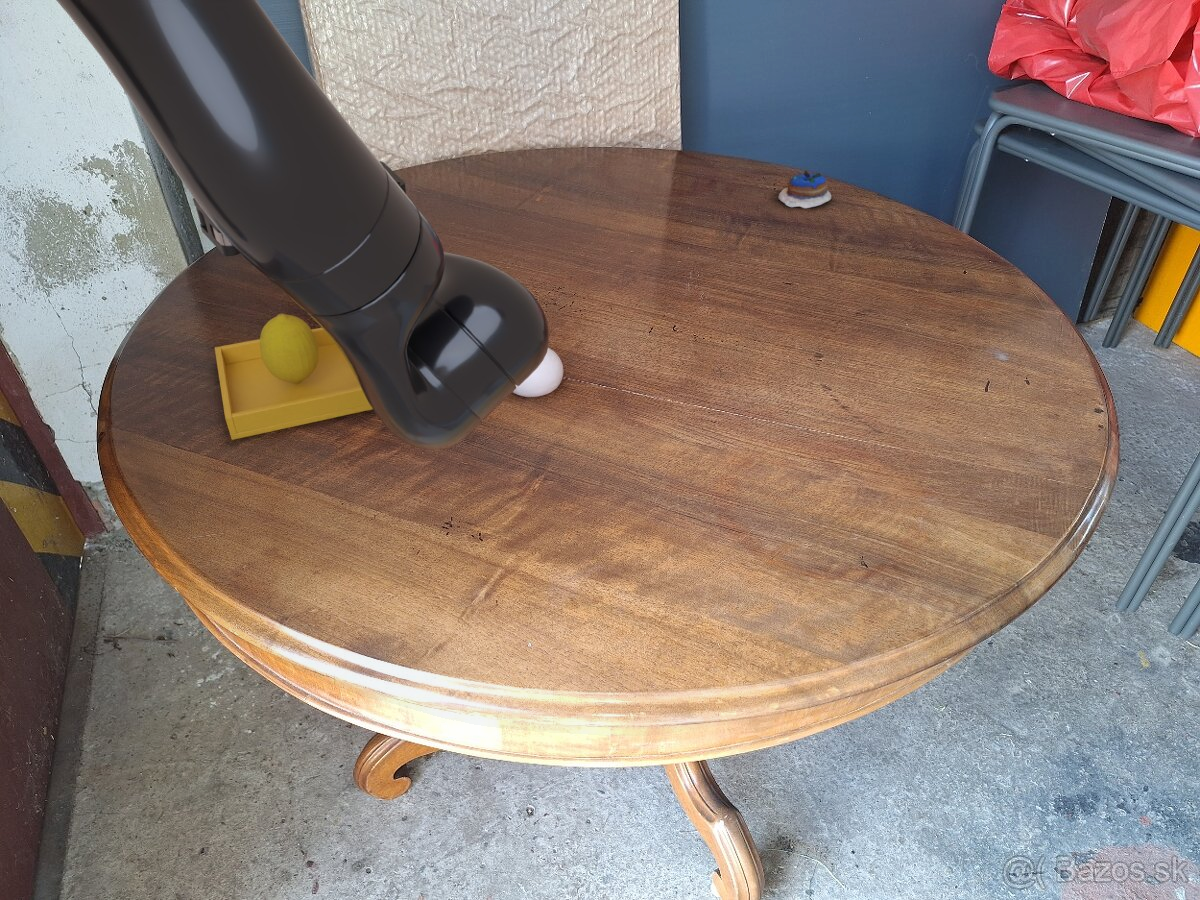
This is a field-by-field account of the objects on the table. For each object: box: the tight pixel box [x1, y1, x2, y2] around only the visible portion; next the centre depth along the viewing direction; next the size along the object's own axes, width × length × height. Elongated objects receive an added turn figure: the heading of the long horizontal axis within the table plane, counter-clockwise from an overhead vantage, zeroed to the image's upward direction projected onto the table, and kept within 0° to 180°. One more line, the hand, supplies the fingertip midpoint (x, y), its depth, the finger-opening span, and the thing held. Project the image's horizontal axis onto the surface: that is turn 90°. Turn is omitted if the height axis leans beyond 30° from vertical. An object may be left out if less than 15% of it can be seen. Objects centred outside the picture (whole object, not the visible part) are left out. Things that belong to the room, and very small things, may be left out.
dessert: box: [778, 170, 832, 209], centre depth 135 cm, size 8×7×6 cm
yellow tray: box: [214, 327, 373, 441], centre depth 93 cm, size 14×14×3 cm
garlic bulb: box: [512, 347, 564, 398], centre depth 92 cm, size 6×6×8 cm
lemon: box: [259, 313, 318, 384], centre depth 91 cm, size 6×6×8 cm
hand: (275, 175), depth 70 cm, fingers open, 8 cm apart
